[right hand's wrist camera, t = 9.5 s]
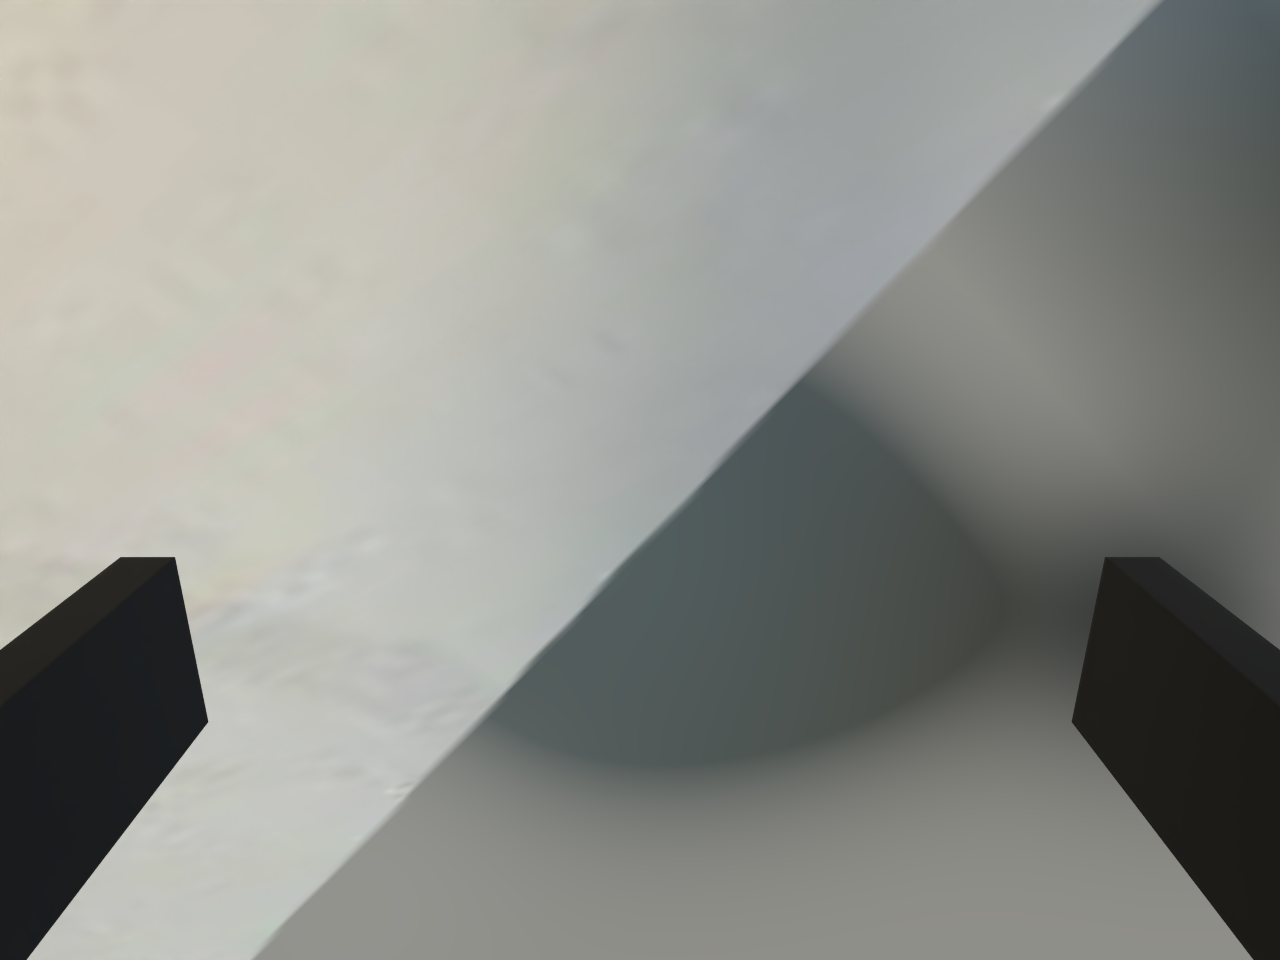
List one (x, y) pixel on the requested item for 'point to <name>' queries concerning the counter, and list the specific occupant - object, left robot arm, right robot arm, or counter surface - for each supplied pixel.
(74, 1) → the counter surface
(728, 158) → the counter surface
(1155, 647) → the right robot arm
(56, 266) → the counter surface
